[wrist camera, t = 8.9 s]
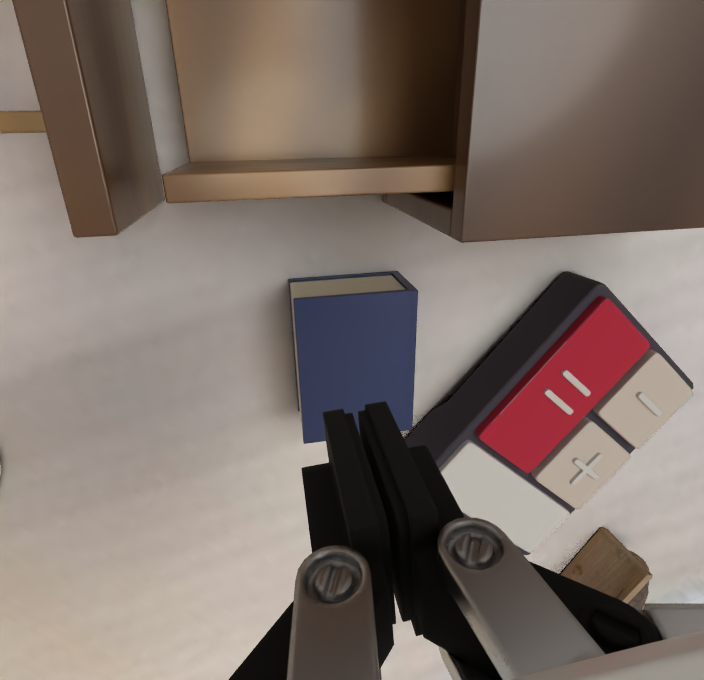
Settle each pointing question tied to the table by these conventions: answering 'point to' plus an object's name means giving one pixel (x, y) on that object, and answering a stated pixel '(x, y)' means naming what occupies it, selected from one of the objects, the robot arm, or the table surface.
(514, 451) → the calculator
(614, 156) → the cabinet
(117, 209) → the drawer
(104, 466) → the table surface
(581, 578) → the knotty wood beam
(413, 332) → the book
